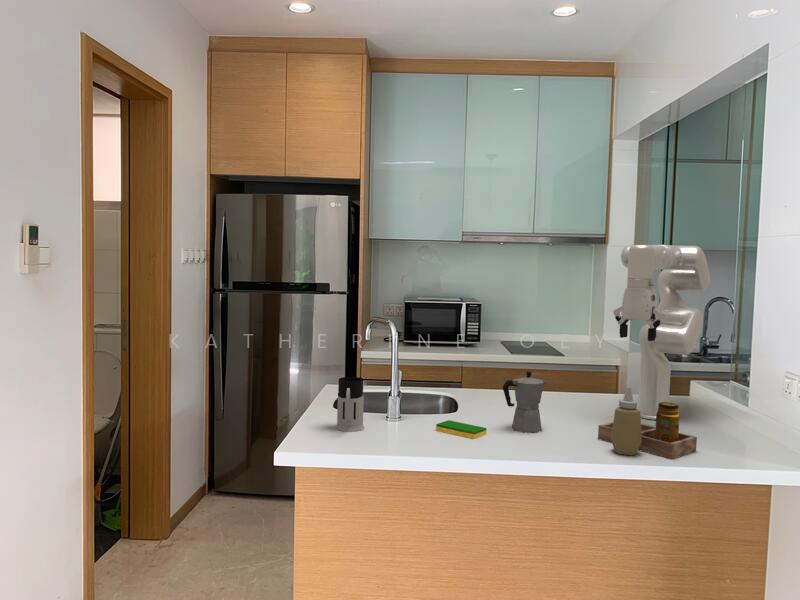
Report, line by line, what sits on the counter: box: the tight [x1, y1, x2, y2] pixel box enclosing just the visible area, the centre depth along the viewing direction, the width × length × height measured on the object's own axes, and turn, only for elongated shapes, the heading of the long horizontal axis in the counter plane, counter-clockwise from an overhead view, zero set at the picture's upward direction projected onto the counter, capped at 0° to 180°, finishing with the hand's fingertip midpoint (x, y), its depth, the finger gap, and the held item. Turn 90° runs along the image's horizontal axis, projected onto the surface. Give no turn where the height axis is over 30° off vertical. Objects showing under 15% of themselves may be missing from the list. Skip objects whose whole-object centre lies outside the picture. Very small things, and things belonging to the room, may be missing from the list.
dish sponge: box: [435, 419, 488, 440], centre depth 195 cm, size 7×14×2 cm, turn 52°
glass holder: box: [335, 376, 365, 433], centre depth 193 cm, size 9×14×15 cm, turn 179°
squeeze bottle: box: [611, 387, 642, 456], centre depth 177 cm, size 8×8×18 cm
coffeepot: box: [502, 371, 548, 434], centre depth 199 cm, size 15×9×18 cm, turn 110°
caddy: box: [597, 421, 698, 460], centre depth 186 cm, size 13×23×4 cm, turn 38°
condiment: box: [655, 401, 680, 443], centre depth 181 cm, size 7×8×12 cm
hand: (637, 339), depth 203 cm, fingers open, 9 cm apart
